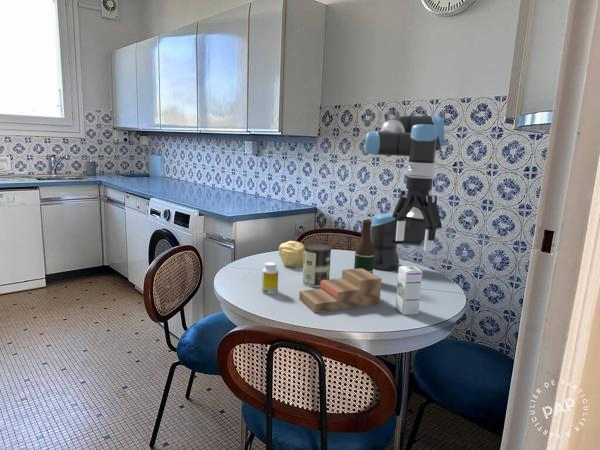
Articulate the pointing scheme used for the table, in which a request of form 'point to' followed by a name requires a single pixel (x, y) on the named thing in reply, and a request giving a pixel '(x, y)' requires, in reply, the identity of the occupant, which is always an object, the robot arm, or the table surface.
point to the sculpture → (292, 253)
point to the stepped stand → (344, 292)
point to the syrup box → (408, 290)
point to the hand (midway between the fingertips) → (413, 245)
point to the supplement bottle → (270, 278)
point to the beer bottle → (365, 249)
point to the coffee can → (316, 264)
